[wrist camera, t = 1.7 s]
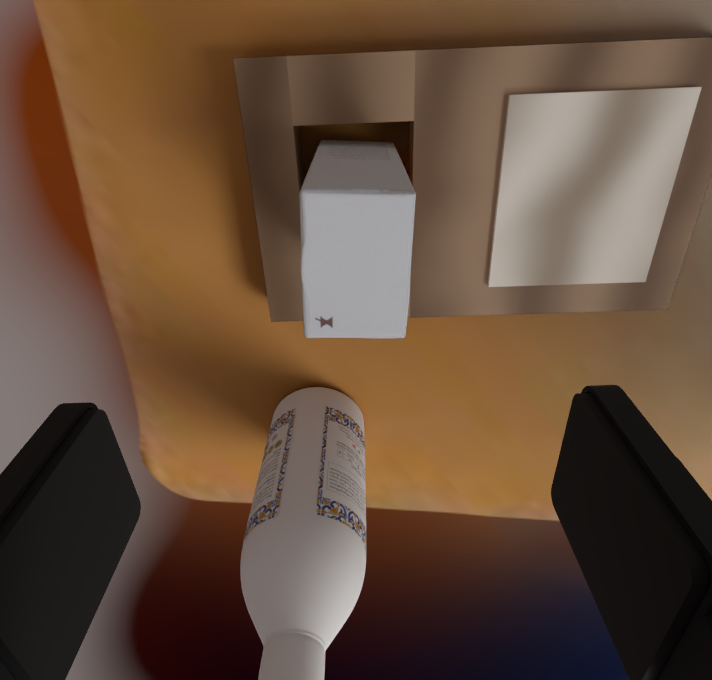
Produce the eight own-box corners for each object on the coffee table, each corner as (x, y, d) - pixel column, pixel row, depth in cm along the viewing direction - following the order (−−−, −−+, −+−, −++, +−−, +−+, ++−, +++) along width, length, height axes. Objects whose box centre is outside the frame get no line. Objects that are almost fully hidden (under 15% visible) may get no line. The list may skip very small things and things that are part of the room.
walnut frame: (721, 36, 24) (761, 35, 22) (646, 291, 31) (670, 311, 29) (243, 57, 25) (231, 58, 22) (276, 303, 32) (270, 324, 30)
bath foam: (279, 455, 39) (217, 775, 22) (267, 385, 35) (181, 700, 18) (366, 452, 39) (372, 772, 22) (362, 381, 35) (366, 696, 18)
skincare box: (390, 243, 30) (406, 344, 20) (320, 241, 30) (300, 342, 20) (396, 137, 27) (419, 191, 16) (318, 135, 27) (293, 188, 16)
